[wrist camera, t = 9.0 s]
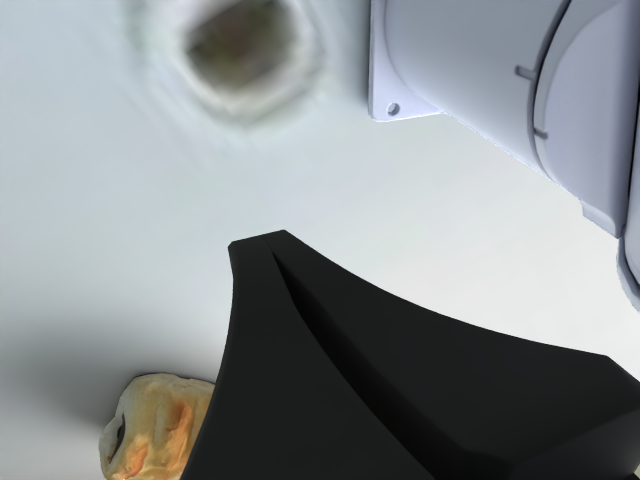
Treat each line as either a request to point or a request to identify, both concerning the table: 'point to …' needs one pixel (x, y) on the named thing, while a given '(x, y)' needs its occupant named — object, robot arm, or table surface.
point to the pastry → (154, 428)
